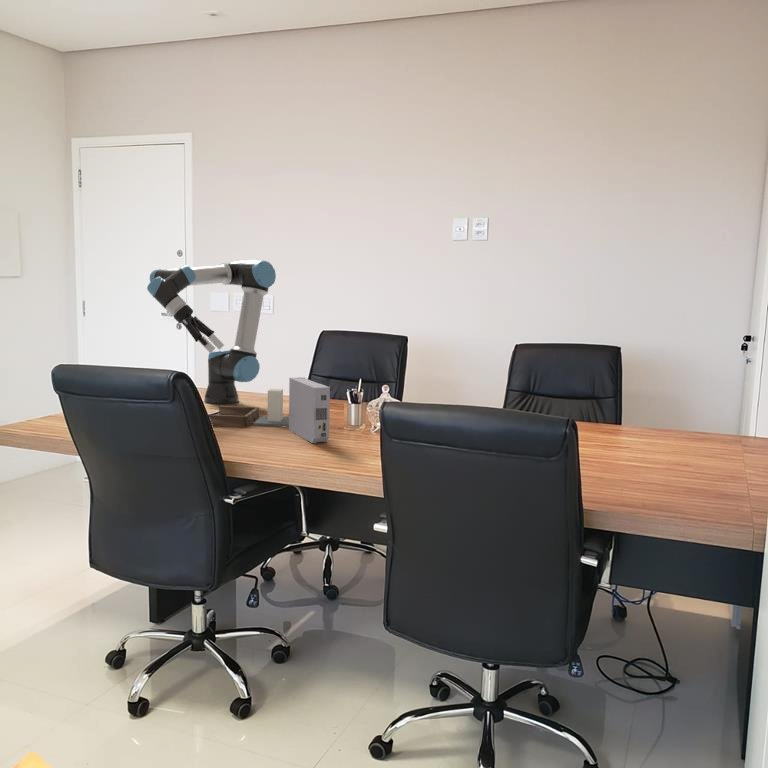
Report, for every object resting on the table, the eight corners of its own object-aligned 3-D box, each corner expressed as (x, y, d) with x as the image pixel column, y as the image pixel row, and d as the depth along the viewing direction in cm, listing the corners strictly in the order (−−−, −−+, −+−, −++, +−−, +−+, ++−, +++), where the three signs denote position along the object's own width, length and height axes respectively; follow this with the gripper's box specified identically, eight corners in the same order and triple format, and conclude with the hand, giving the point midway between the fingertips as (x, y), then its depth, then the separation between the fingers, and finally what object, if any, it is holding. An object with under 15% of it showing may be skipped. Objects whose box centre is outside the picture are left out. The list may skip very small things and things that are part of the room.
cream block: (270, 418, 306) (270, 388, 304) (282, 419, 306) (282, 389, 304) (267, 421, 301) (267, 390, 299) (280, 421, 301) (280, 391, 299)
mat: (261, 418, 311) (261, 416, 311) (296, 419, 310) (296, 417, 310) (253, 425, 296) (253, 423, 296) (289, 427, 296) (289, 424, 295)
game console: (303, 429, 292) (304, 377, 289) (329, 444, 268) (330, 387, 265) (288, 430, 290) (289, 377, 287) (313, 445, 265) (314, 387, 262)
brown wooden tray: (219, 415, 315) (219, 405, 315) (259, 417, 314) (259, 407, 314) (204, 425, 294) (204, 415, 294) (246, 426, 293) (246, 416, 293)
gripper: (183, 315, 320) (219, 352, 322) (163, 318, 296) (202, 358, 297) (195, 302, 319) (231, 339, 321) (176, 305, 295) (215, 345, 296)
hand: (217, 349), depth 309 cm, fingers open, 13 cm apart
